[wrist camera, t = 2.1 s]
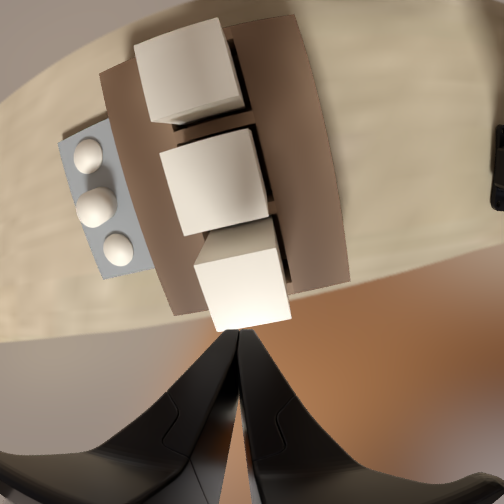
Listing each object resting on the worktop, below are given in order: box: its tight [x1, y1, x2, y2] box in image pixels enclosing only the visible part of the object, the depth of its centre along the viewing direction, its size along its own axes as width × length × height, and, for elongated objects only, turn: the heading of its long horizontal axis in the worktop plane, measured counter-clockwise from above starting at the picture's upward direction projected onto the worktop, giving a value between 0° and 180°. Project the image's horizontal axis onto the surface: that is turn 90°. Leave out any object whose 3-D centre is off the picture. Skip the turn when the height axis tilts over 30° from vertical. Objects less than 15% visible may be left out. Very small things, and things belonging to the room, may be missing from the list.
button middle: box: [159, 128, 269, 236], centre depth 13 cm, size 3×3×5 cm
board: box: [99, 15, 350, 316], centre depth 15 cm, size 10×14×4 cm
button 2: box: [194, 214, 291, 332], centre depth 14 cm, size 3×3×5 cm
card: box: [58, 118, 155, 280], centre depth 17 cm, size 4×10×2 cm, turn 14°
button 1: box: [134, 17, 246, 125], centre depth 11 cm, size 3×3×5 cm
